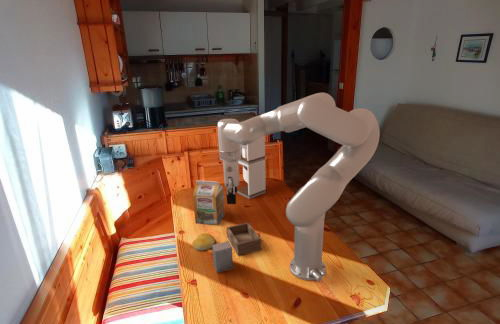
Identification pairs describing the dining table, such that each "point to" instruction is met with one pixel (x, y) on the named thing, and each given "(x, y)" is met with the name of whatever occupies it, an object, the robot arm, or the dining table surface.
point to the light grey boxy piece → (253, 168)
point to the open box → (243, 238)
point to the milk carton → (208, 203)
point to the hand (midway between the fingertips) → (232, 197)
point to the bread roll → (203, 242)
